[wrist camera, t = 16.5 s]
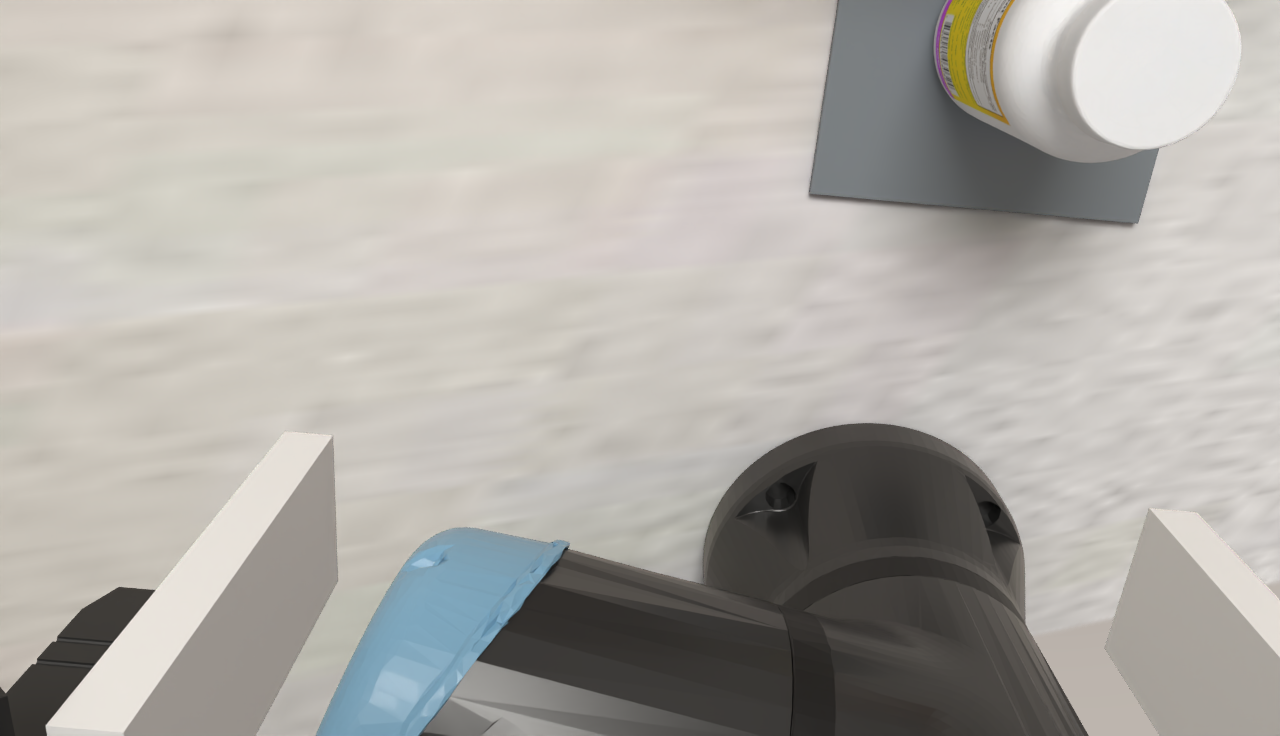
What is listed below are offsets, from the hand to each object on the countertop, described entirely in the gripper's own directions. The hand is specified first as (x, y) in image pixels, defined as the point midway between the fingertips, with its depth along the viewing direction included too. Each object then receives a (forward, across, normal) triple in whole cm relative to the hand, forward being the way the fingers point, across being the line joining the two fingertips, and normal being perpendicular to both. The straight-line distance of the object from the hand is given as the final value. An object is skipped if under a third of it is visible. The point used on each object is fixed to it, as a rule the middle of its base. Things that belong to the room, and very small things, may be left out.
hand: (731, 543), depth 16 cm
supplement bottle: (+28, -12, -7) cm, 32 cm away
